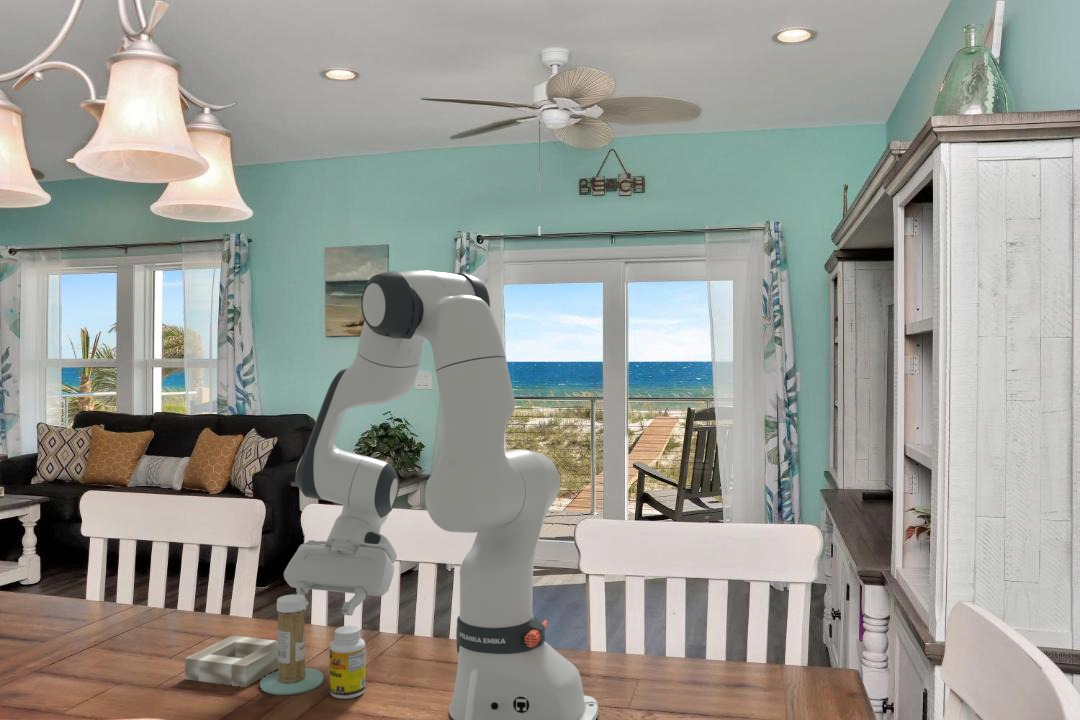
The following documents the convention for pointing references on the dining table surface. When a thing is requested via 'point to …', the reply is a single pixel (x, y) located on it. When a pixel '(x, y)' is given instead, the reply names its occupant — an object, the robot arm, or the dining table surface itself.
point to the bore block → (233, 661)
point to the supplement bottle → (347, 663)
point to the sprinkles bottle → (291, 638)
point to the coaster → (279, 688)
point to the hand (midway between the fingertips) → (322, 611)
